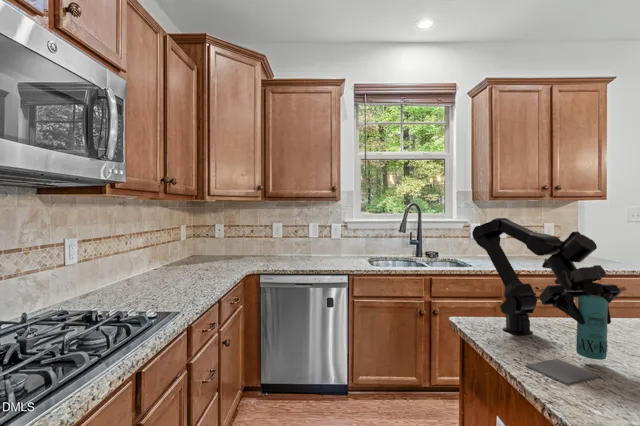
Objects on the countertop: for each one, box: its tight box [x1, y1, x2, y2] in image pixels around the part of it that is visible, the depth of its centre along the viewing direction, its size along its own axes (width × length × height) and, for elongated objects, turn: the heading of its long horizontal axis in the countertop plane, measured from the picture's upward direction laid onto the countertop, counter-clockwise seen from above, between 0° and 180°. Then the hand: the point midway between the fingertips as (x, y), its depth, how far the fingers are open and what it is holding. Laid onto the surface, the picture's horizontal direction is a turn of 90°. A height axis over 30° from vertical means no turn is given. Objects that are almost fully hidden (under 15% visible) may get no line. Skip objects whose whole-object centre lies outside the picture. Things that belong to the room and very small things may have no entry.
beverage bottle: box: [575, 282, 609, 361], centre depth 94 cm, size 6×7×20 cm
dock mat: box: [525, 358, 602, 386], centre depth 91 cm, size 11×11×1 cm
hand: (596, 323), depth 93 cm, fingers closed on beverage bottle, 6 cm apart
